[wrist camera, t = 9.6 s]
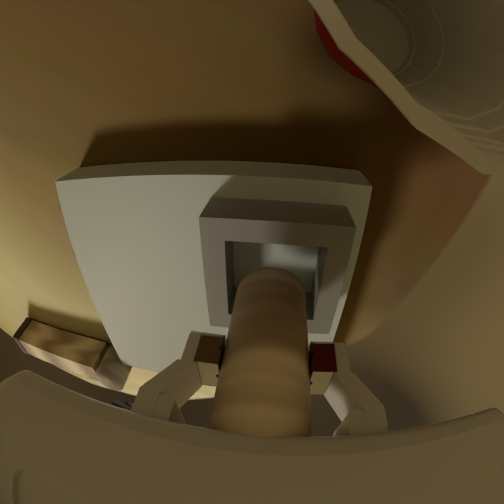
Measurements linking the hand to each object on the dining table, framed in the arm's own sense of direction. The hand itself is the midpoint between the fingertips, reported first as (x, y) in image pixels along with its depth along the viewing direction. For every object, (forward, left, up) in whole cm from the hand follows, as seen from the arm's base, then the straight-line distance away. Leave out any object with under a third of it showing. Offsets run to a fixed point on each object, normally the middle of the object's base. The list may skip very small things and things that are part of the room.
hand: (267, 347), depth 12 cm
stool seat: (+5, -5, -10) cm, 12 cm away
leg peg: (0, 0, -4) cm, 4 cm away
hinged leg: (+17, -25, -9) cm, 31 cm away
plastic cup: (-14, +5, -10) cm, 18 cm away
